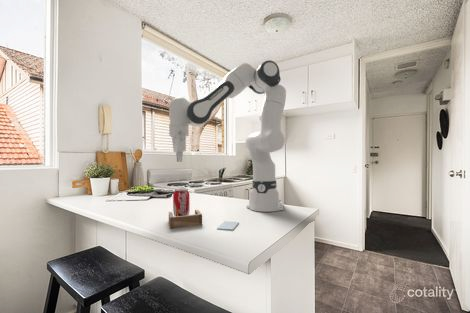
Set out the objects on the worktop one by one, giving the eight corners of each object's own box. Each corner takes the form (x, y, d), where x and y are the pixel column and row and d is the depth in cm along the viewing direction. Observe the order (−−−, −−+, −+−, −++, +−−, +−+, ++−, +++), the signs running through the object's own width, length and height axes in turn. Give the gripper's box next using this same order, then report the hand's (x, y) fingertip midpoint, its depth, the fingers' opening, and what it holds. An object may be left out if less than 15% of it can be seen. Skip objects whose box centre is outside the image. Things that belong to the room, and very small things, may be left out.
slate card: (224, 223, 90) (224, 221, 90) (239, 224, 89) (239, 222, 89) (217, 231, 82) (216, 228, 82) (232, 232, 80) (232, 229, 80)
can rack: (168, 221, 92) (168, 212, 92) (197, 218, 96) (197, 209, 96) (170, 228, 83) (170, 217, 83) (202, 224, 87) (202, 214, 87)
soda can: (174, 219, 96) (174, 190, 96) (172, 215, 102) (172, 188, 102) (191, 217, 98) (190, 189, 98) (188, 213, 105) (187, 187, 105)
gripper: (189, 130, 97) (189, 162, 97) (183, 134, 116) (183, 161, 116) (174, 129, 95) (174, 162, 95) (170, 134, 114) (170, 161, 114)
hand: (179, 161), depth 106 cm, fingers open, 4 cm apart
